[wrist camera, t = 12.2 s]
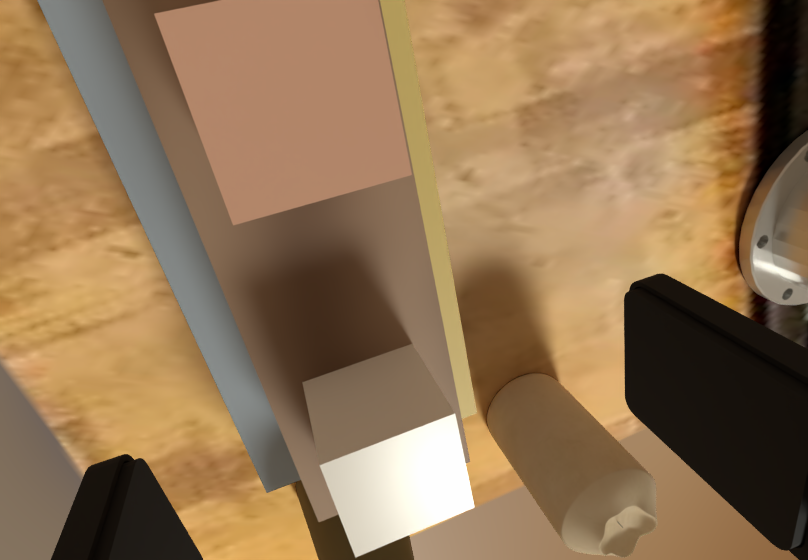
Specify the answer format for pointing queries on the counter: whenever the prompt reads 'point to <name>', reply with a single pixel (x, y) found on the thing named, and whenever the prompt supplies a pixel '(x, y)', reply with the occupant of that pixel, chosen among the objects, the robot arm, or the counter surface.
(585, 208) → the counter surface
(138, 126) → the block
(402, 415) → the white cube
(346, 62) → the salmon pink cube
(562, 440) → the candle
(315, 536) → the olive pepper mill
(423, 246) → the brown wooden bar
